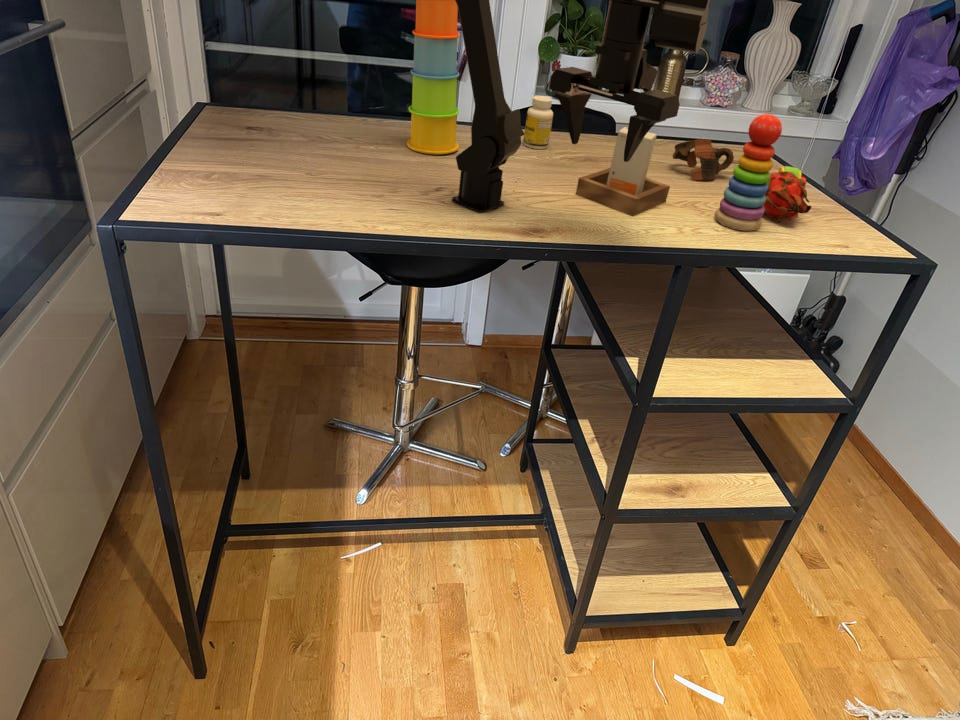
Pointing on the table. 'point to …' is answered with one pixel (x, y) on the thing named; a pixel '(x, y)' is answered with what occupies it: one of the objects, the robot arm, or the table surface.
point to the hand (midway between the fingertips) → (600, 152)
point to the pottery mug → (703, 158)
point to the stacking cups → (434, 78)
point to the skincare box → (630, 164)
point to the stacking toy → (750, 177)
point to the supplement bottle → (538, 123)
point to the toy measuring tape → (793, 170)
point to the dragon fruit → (785, 196)
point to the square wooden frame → (621, 193)
